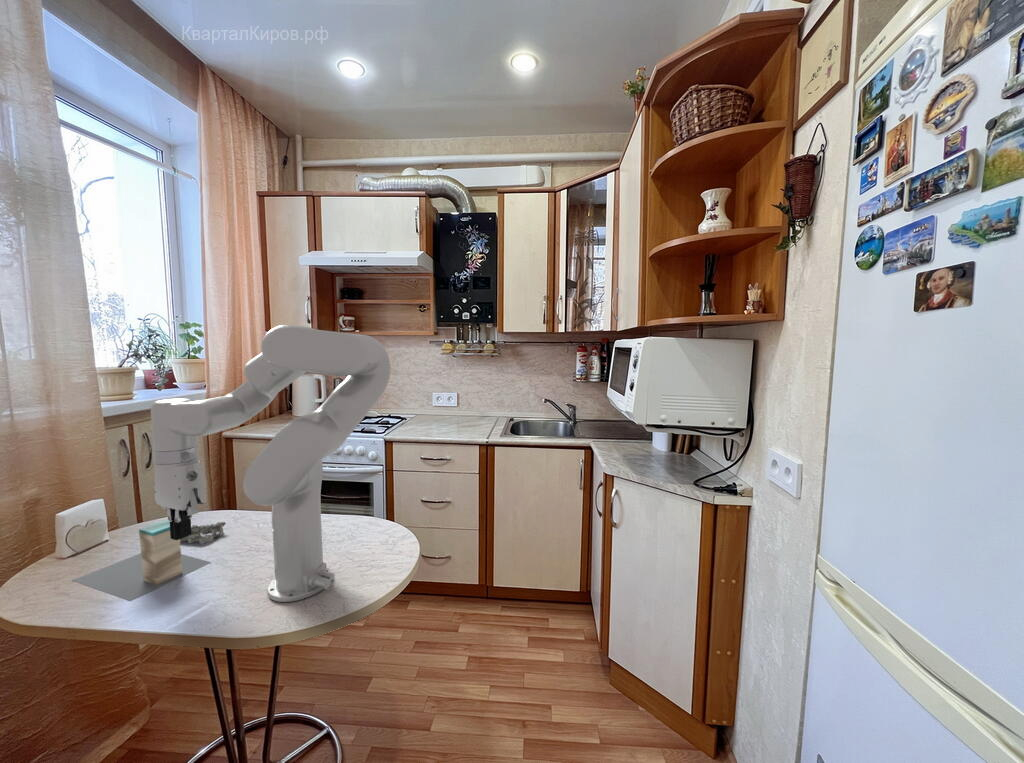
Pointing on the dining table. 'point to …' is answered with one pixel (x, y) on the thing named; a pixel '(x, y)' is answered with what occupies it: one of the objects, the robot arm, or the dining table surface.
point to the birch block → (159, 553)
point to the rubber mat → (132, 577)
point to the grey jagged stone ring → (196, 535)
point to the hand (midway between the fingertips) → (181, 536)
